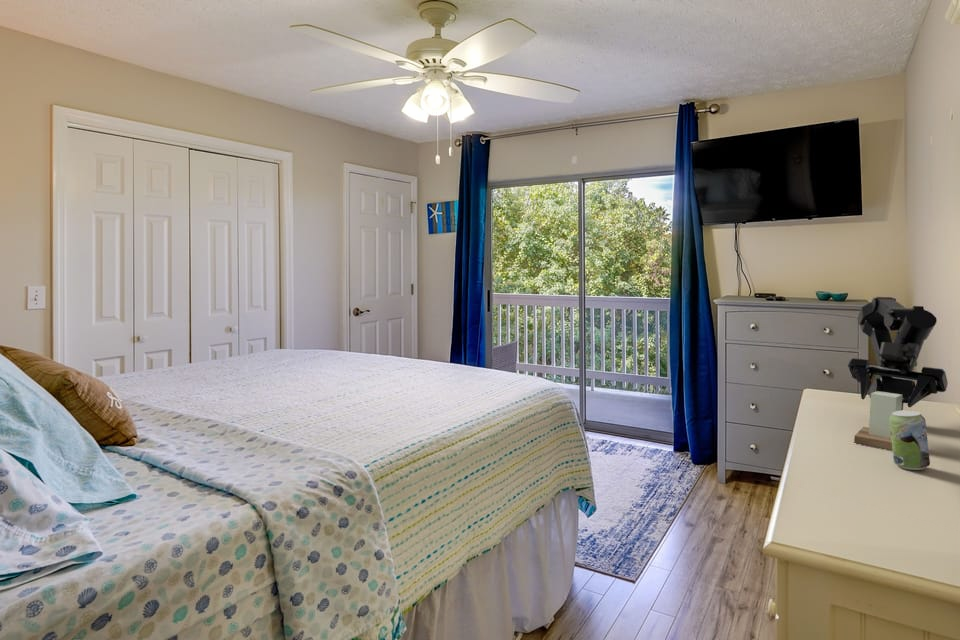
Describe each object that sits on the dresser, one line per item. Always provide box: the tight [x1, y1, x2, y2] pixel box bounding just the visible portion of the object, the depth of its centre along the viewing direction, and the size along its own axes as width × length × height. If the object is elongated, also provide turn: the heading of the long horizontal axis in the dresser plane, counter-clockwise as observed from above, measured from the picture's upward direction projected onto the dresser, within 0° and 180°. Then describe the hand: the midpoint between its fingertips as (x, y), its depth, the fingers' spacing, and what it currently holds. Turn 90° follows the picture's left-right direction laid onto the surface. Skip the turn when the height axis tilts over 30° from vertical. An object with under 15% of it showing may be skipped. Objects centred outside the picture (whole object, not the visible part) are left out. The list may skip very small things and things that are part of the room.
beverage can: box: [889, 409, 931, 471], centre depth 116 cm, size 6×7×12 cm
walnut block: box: [853, 426, 893, 452], centre depth 132 cm, size 10×10×2 cm
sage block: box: [868, 391, 902, 439], centre depth 131 cm, size 4×5×10 cm
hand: (884, 402), depth 130 cm, fingers open, 9 cm apart
